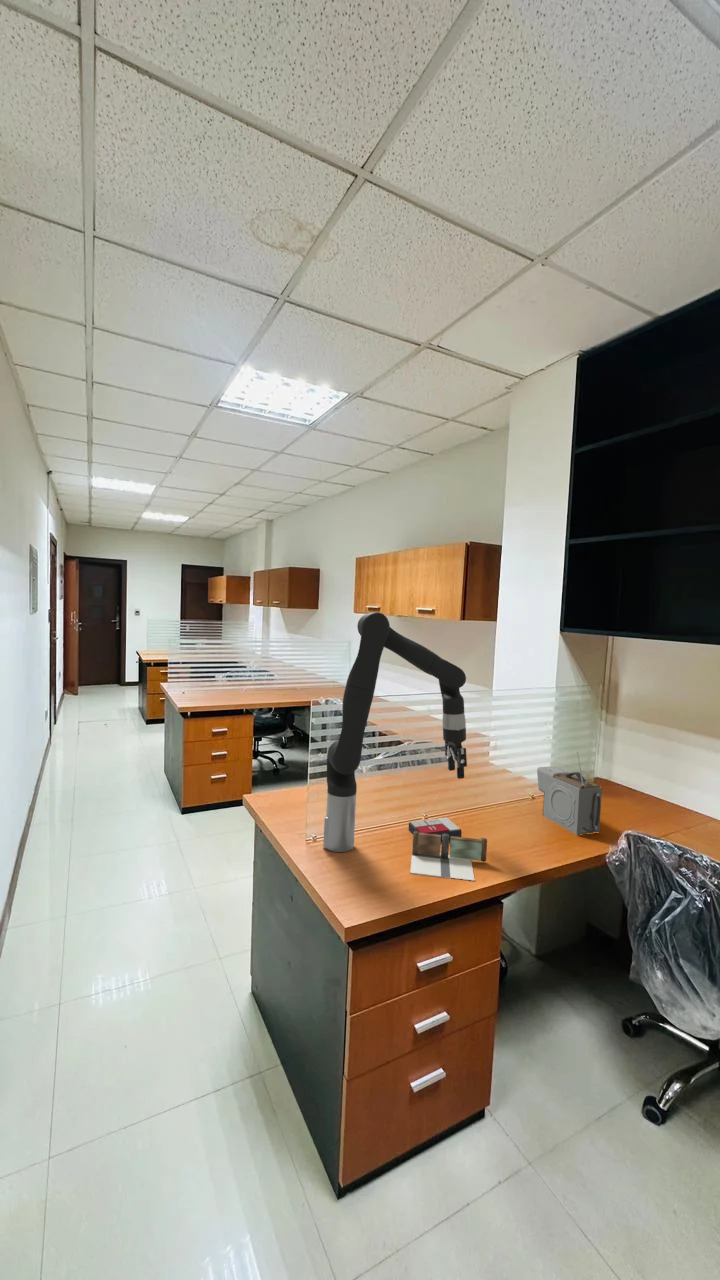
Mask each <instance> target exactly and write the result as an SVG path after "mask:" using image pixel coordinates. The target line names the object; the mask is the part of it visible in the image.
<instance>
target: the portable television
mask: <svg viewBox="0 0 720 1280" xmlns="http://www.w3.org/2000/svg"><path fill="white" fill-rule="evenodd" d="M576 753H577V754H576V755H577V760H578V765H579V768H578V769H579V772H578V771H577V772H576V771H575V772H571V771H568V770H565V769H564V768H561V767H558V766H555V765H553V766H539V767H538V768H537V769H536V772H537V785H538V790H539V791H540V792H541V793H543V808H542V816H543V815H544V817H546V818H548V819H549V820H551V821H553V822H555V823H557V824H559V825H560V826H562V827H564V828H566V829H567V830H569V831H571V832H572V833H574V834H576V835H580V834H587V833H593V832H599V833H600V831H601V830H600V828H601V814H602V811H601V810H602V795H603V793H602V791H603V788H602V787H601V786H600V785H599V784H596V783H594V782H592V781H588V780H586V779H585V777H584V776H583V772H582V767H581V763H580V757H579V751H576ZM544 817H543V818H544ZM546 818H545V819H546ZM549 820H548V821H549ZM551 821H550V822H551ZM553 822H552V823H553ZM555 823H554V824H555ZM560 826H559V827H560ZM562 827H561V828H562ZM567 830H566V831H567ZM569 831H568V832H569ZM571 832H570V833H571ZM572 833H571V834H572ZM574 834H573V835H574ZM576 835H575V836H576Z"/></svg>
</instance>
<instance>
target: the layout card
mask: <svg viewBox="0 0 720 1280" xmlns="http://www.w3.org/2000/svg"><path fill="white" fill-rule="evenodd" d="M410 859H411V861H410V872H409V873H410V874H412V875H420V876H426V877H427V876H428V877H436V878H437V877H438V878H443V877H444V879H451V878H455V879H454V880H459V879H463V880H462V881H468V880H471V881H470V882H476V881H475V875H474V869H473V863H472V860H469V859H461V858H452V857H450V854H448V859H443V858H441V853H440V856H435V855H426V854H418V855H413V854H412V853H411V858H410Z"/></svg>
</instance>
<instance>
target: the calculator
mask: <svg viewBox="0 0 720 1280" xmlns="http://www.w3.org/2000/svg"><path fill="white" fill-rule="evenodd" d="M408 831H409V833H411V835H413V832H414V831H417V832H419V833H426V834H436V835H441V842H442V834H449V841H450V837H451V836H455V837H462V833H463V832H462V831H463V830H462V829H461V828H460V827H459V826H458V825H456V824H455V823H454V822H453V821H451V820H450V819H449V818H448V817H439V818H435V817H434V818H427V819H424V820H423V819H420V820H411V821H410V822H408Z"/></svg>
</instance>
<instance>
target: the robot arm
mask: <svg viewBox="0 0 720 1280" xmlns="http://www.w3.org/2000/svg"><path fill="white" fill-rule="evenodd" d="M356 627H357V631H358V634H359V636H360V641H359V647H358V652H357V656H356V658H355V660H354V663H353V664H352V667H351V669H350V672H349V674H348V676H347V680H346V684H345V688H344V692H343V698H342V719H341V721H342V725H341V731H340V734H339V738H338V740H336V741H334V742H332V744H330V746H329V747H328V750H327V755H326V756H327V758H326V784H327V785H326V786H327V792H326V793H327V796H326V815H325V817H324V822H323V823H324V824H323V825H324V826H323V845H322V846H323V847H322V848H323V849H325V850H329V851H331V852H334V853H335V852H336V853H346V852H349V851H351V850H353V849H354V846H355V829H356V809H357V808H356V806H357V792H358V791H357V790H358V789H357V788H358V787H357V786H358V785H357V781H356V775H355V773H356V772H355V771H356V770H357V769H358V767H359V766H360V764H361V758H362V752H363V745H364V744H363V743H364V736H365V730H366V727H367V723H368V719H369V715H370V710H371V707H372V703H373V699H374V694H375V689H376V685H377V680H378V676H379V675H378V674H379V669H380V668H379V667H380V661H381V657H382V654H383V651H384V648H385V649H387V650H389V651H390V652H392V653H395V654H396V655H398V656H399V657H400V658H402V659H403V660H405V661H406V662H408V663H409V664H411V665H413V666H414V667H416V668H417V669H419V670H420V671H423V673H424V674H425V673H426V674H427V675H429V676H433V677H434V678H436V679H437V680H438V685H439V691H440V693H441V699H442V739H443V741H444V755H445V757H446V759H447V768H448V770H449V771H455V770H456V778H457V779H458V780H460V779H461V780H462V779H465V768H467V767H468V759H467V749H466V747H463V745H462V743H463V742H465V741H466V740H467V727H466V726H467V725H466V724H467V723H466V722H467V721H466V714H465V701H464V700H465V699H464V696H462V694H461V691H460V688H462V687H463V686H464V685H465V683H466V681H467V676H466V674H465V671H464V670H463V669H462V668H460V667H459V666H457V665H455V664H454V663H451V662H450V661H448V660H446V659H443V658H442V657H440V656H439V655H438V654H437V653H435V652H433V651H431V650H430V649H429V648H427V647H425V646H423V644H419V643H417V642H416V641H414V640H412V639H410V638H407V637H406V636H404V635H402V634H400V633H398V632H397V631H396V630H394V629H393V628H392V627H391V626H390V621H389V618H388V617H387V616H386V615H385V614H383V613H381V612H380V611H379V612H378V611H374V612H373V611H372V612H368V613H366V614H364V615H362V616H361V617H360V618H359V620H358V622H357V625H356Z"/></svg>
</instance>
